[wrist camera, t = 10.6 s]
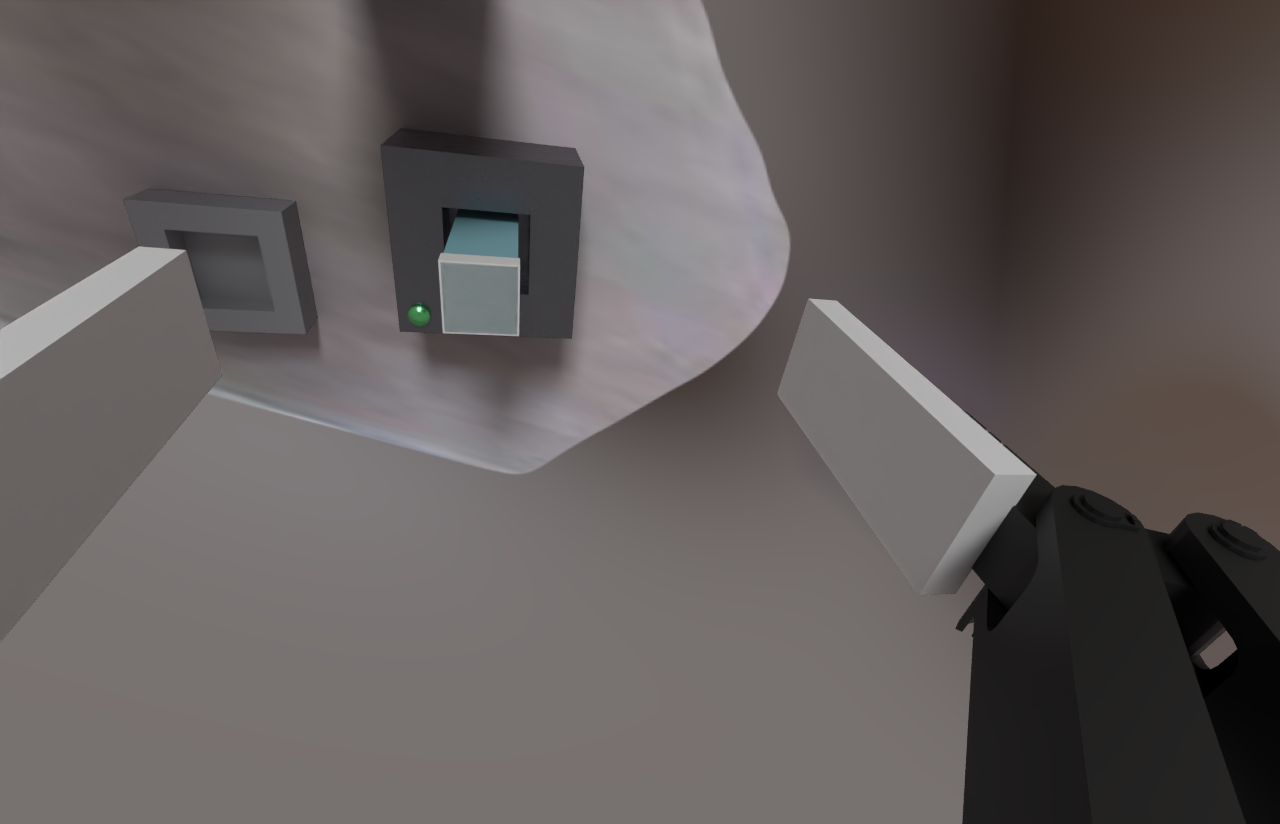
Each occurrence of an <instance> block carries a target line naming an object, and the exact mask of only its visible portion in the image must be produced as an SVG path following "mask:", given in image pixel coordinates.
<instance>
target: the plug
mask: <svg viewBox="0 0 1280 824" xmlns="http://www.w3.org/2000/svg"><path fill="white" fill-rule="evenodd" d="M438 266H439V281H440V297H441V313H442V328H443V333H451V334H477V335H502V336H519V307H520V258H518V214H514V213H503V212H491V211H480V210H468V209H458V212H457V215H456V218H455V221H454V224H453V227H452V229H451V232H450V235H449V238H448V241H447V244H446V247H445V250H444V253H441V254H440V256H439V259H438Z"/></svg>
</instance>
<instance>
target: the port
mask: <svg viewBox="0 0 1280 824" xmlns="http://www.w3.org/2000/svg"><path fill="white" fill-rule="evenodd" d="M380 146H381V156H382V165H383V175H384V184H385V194H386V203H387V213H388V222H389V232H390V241H391V251H392V260H393V269H394V279H395V288H396V298H397V307H398V317H399V326H400V332H424V333H443V328H442V313H441V297H440V281H439V266H438V259H439V256H440V254H441V253H444V250H445V247H446V244H447V241H448V238H449V235H450V232H451V229H452V227H453V224H454V221H455V218H456V215H457V212H458V209H468V210H480V211H491V212H503V213H514V214H518V258H520V307H519V336H522V337H546V338H571V339H572V329H573V315H574V301H575V287H576V274H577V260H578V246H579V232H580V218H581V204H582V190H583V176H584V166H583V164H582V161H581V159H580V157H579V155H578V153H577V151H576V149H575V148H567V147H558V146H549V145H541V144H532V143H523V142H514V141H505V140H497V139H488V138H479V137H470V136H461V135H453V134H444V133H435V132H426V131H417V130H409V129H400V130H398V131H397V132H396V133H395V134H394V135H392V136H391V137H390V138H389V139H387V140H386V141H385V142H384V143H382V144H381V145H380ZM448 334H451V333H448ZM473 335H477V334H473ZM497 336H502V335H497Z"/></svg>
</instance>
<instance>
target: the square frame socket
mask: <svg viewBox="0 0 1280 824" xmlns="http://www.w3.org/2000/svg"><path fill="white" fill-rule="evenodd" d="M123 201H124V204H125V207H126V209H127V212H128V215H129V218H130V221H131V224H132V227H133V230H134V233H135V236H136V239H137V241H138V244H139V246H140V247H153V248H166V249H178V250H186V251H187V254H188V258H189V261H190V265H191V268H192V272H193V275H194V279H195V282H196V286H197V289H198V293H199V296H200V300H201V303H202V307H203V310H204V314H205V317H206V321H207V324H208V328H209V331H228V332H254V333H280V334H307V332H308V331H309V330H310V328H311V327H312V325H313V324H314V322H315V321H316V320H317V318H318V317H317V312H316V307H315V302H314V296H313V291H312V286H311V280H310V275H309V270H308V264H307V259H306V254H305V248H304V243H303V238H302V232H301V227H300V222H299V216H298V211H297V206H296V201H289V200H277V199H265V198H253V197H241V196H229V195H217V194H206V193H194V192H182V191H170V190H158V189H146V190H144V191H142V192H139V193H137V194H135V195H132V196H130V197H127V198H125V199H123Z"/></svg>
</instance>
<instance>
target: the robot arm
mask: <svg viewBox="0 0 1280 824" xmlns="http://www.w3.org/2000/svg"><path fill="white" fill-rule="evenodd" d="M221 376H222V373H221V369H220V366H219V362H218V359H217V355H216V352H215V348H214V345H213V342H212V338H211V335H210V331H209V328H208V324H207V321H206V317H205V314H204V310H203V307H202V303H201V300H200V296H199V293H198V289H197V286H196V282H195V279H194V275H193V272H192V268H191V265H190V261H189V258H188V254H187V251H186V250H178V249H166V248H153V247H140V246H139V247H137V248H136V249H134V250H132V251H130V252H129V253H127V254H125V255H124V256H122V257H120V258H119V259H117V260H115V261H114V262H112V263H110V264H109V265H107V266H105V267H104V268H102V269H100V270H99V271H97V272H95V273H94V274H92V275H90V276H89V277H87V278H85V279H84V280H82V281H80V282H79V283H77V284H75V285H74V286H72V287H70V288H69V289H67V290H65V291H64V292H62V293H60V294H59V295H57V296H55V297H54V298H52V299H50V300H48V301H47V302H45V303H43V304H42V305H40V306H38V307H37V308H35V309H33V310H32V311H30V312H28V313H27V314H25V315H23V316H22V317H20V318H18V319H17V320H15V321H13V322H12V323H10V324H8V325H7V326H5V327H3V328H2V329H0V643H1V641H2V640H3V639H4V638H5V637H6V635H7V634H8V633H9V632H10V630H11V629H12V628H13V627H14V626H15V624H16V623H17V622H18V621H19V620H20V618H21V617H22V616H23V615H24V614H25V612H26V611H27V610H28V609H29V608H30V606H31V605H32V604H33V603H34V602H35V600H36V599H37V598H38V597H39V596H40V594H41V593H42V592H43V591H44V589H45V588H46V587H47V586H48V585H49V583H50V582H51V581H52V580H53V578H54V577H55V576H56V575H57V574H58V573H59V571H60V570H61V569H62V568H63V566H64V565H65V564H66V563H67V562H68V561H69V559H70V558H71V557H72V556H73V554H74V553H75V552H76V551H77V550H78V548H79V547H80V546H81V545H82V544H83V542H84V541H85V540H86V539H87V538H88V536H89V535H90V534H91V533H92V531H93V530H94V529H95V528H96V527H97V526H98V524H99V523H100V522H101V521H102V519H103V518H104V517H105V516H106V515H107V513H108V512H109V511H110V510H111V508H112V507H113V506H114V505H115V504H116V503H117V501H118V500H119V499H120V498H121V496H122V495H123V494H124V493H125V492H126V490H127V489H128V488H129V487H130V486H131V485H132V483H133V482H134V481H135V480H136V478H137V477H138V476H139V475H140V474H141V472H142V471H143V470H144V469H145V468H146V466H147V465H148V464H149V463H150V462H151V460H152V459H153V458H154V457H155V455H156V454H157V453H158V452H159V451H160V449H161V448H162V447H163V446H164V445H165V444H166V442H167V441H168V440H169V439H170V437H171V436H172V435H173V434H174V433H175V431H176V430H177V429H178V428H179V426H180V425H181V424H182V423H183V422H184V421H185V419H186V418H187V417H188V416H189V415H190V413H191V412H192V411H193V410H194V409H195V407H196V406H197V405H198V403H199V402H200V401H201V400H202V399H203V398H204V396H205V395H206V394H207V393H208V392H209V390H210V389H211V388H212V387H213V386H214V384H215V383H216V382H217V381H218V380H219V378H220V377H221ZM777 395H778V396H779V398H780V399H781V401H782V402H783V403H784V405H785V406H786V407H787V409H788V410H789V412H790V413H791V415H792V416H793V418H794V419H795V420H796V422H797V423H798V425H799V426H800V428H801V429H802V430H803V432H804V433H805V435H806V436H807V437H808V439H809V440H810V442H811V443H812V445H813V446H814V447H815V449H816V450H817V452H818V453H819V454H820V456H821V457H822V459H823V460H824V462H825V463H826V464H827V466H828V467H829V469H830V470H831V471H832V473H833V474H834V476H835V477H836V479H837V480H838V481H839V483H840V484H841V486H842V487H843V489H844V490H845V491H846V493H847V494H848V496H849V497H850V499H851V500H852V501H853V503H854V504H855V506H856V507H857V508H858V510H859V511H860V513H861V514H862V516H863V517H864V518H865V520H866V521H867V523H868V524H869V526H870V527H871V528H872V530H873V531H874V533H875V534H876V536H877V537H878V538H879V540H880V541H881V542H882V544H883V546H884V547H885V548H886V550H887V551H888V553H889V554H890V555H891V557H892V558H893V559H894V561H895V563H896V564H897V565H898V567H899V568H900V570H901V571H902V573H903V574H904V575H905V577H906V578H907V580H908V581H909V582H910V584H911V585H912V587H913V588H914V589H915V591H916V592H917V594H918V595H919V596H922V595H938V594H955V593H956V592H957V591H958V589H959V588H960V586H961V585H962V583H963V582H964V580H965V579H966V578H967V576H968V574H969V573H970V572H971V570H972V569H973V570H974V571H975V573H976V574H977V575H978V576H979V577H980V579H981V580H982V581H983V582H984V583H985V585H984V587H983V588H982V590H981V591H980V592H979V594H978V595H977V596H976V598H975V599H974V601H973V602H972V603H971V605H970V606H969V608H968V609H967V610H966V612H965V613H964V615H963V616H962V618H961V619H960V620H959V622H958V624H957V626H956V629H957V630H960V631H963V630H964V628H965V627H966V626H967V624H969V623H973V622H974V631H973V634H972V637H973V649H972V650H973V651H972V666H971V683H970V701H969V720H968V736H967V753H966V754H967V755H966V770H965V789H964V805H963V823H962V824H1280V551H1279V550H1278V549H1276V548H1275V547H1274V546H1273V545H1272V544H1271V543H1269V542H1267V541H1266V540H1264V539H1263V538H1261V537H1260V536H1259V535H1258V534H1257V533H1256V532H1255V531H1253V530H1252V529H1250V528H1248V527H1246V526H1242V525H1241V524H1239V523H1237V522H1235V521H1232V520H1225V519H1222V518H1220V517H1217V516H1214V515H1208V514H1203V513H1192V514H1188V515H1187V516H1186V517H1185V518H1184V519H1183V520H1182V521H1181V522H1180V523H1179V525H1178V526H1177V527H1176V528H1175V529H1174V530H1173V531H1172V532H1171V533H1170V534H1167V533H1162V532H1158V531H1153V530H1149V529H1145V528H1144V526H1143V525H1142V523H1141V522H1140V521H1139V520H1138V519H1137V517H1136V516H1135V515H1133V514H1131V513H1130V512H1129V511H1128V510H1127V509H1125V508H1124V507H1122V506H1121V505H1119V504H1117V503H1115V502H1114V501H1112V500H1111V499H1109V498H1107V497H1104V496H1102V495H1100V494H1098V493H1096V492H1093V491H1090V490H1087V489H1084V488H1080V487H1077V486H1066V485H1065V486H1064V485H1062V486H1059V487H1056V488H1055V487H1053V486H1052V485H1051V484H1050V483H1049V482H1048V481H1046V480H1045V479H1044V478H1043V477H1042V476H1041V475H1039V474H1038V473H1037V472H1036V471H1035V470H1034V469H1033V468H1031V467H1030V466H1029V465H1028V464H1027V463H1026V462H1024V461H1023V460H1022V459H1021V458H1020V457H1019V456H1017V455H1016V454H1015V453H1014V452H1013V451H1012V450H1010V449H1009V448H1008V447H1007V446H1006V445H1002V444H1001V441H1000V440H999V439H998V438H997V437H995V436H994V435H993V434H992V433H991V432H987V431H986V428H985V427H984V426H983V425H982V424H980V423H979V422H978V421H977V420H976V419H974V418H973V417H972V416H971V415H970V414H969V413H967V412H966V411H964V410H962V409H961V408H959V407H958V406H957V405H956V404H955V403H954V402H952V401H951V400H950V399H949V398H948V397H946V395H944V394H943V393H942V392H941V391H940V390H939V389H938V388H936V387H935V386H934V385H933V384H932V383H931V382H929V381H928V380H927V379H926V378H925V377H923V375H921V374H920V373H919V372H918V371H917V370H916V369H914V368H913V367H912V366H911V365H910V364H908V363H907V362H906V361H905V360H904V359H903V358H902V357H901V356H900V355H898V354H897V353H896V352H895V351H894V350H893V349H891V348H890V347H889V346H888V345H887V344H886V343H884V342H883V341H882V340H881V339H880V338H879V337H878V336H876V335H875V334H874V333H873V332H872V331H871V330H870V329H868V328H867V327H866V326H865V325H864V324H862V323H861V322H860V321H859V320H858V319H857V318H856V317H854V316H853V315H852V314H851V313H850V312H849V311H848V310H847V309H845V308H844V307H843V306H842V305H841V304H840V303H838V302H837V301H832V300H819V299H808V302H807V305H806V308H805V311H804V314H803V317H802V320H801V323H800V326H799V330H798V332H797V336H796V338H795V341H794V344H793V347H792V351H791V353H790V357H789V360H788V363H787V366H786V369H785V372H784V375H783V378H782V381H781V384H780V387H779V390H778V393H777ZM1225 631H1227V632H1228V633H1229V635H1230V636H1231V637H1232V639H1233V640H1234V643H1235V645H1236V647H1237V650H1236V651H1235V652H1234V653H1232V654H1231V655H1230V656H1229V657H1228V658H1227V659H1225V660H1224V661H1223V662H1222V663H1220V664H1219V665H1218V666H1216V667H1214V668H1212V669H1210V668H1209V667H1208V666H1207V665H1206V664H1205V663H1204V661H1203V659H1202V658H1201V656H1200V655H1199V654H1200V653H1201V652H1202V651H1203V650H1205V649H1206V648H1207V647H1208V646H1209V645H1210V644H1211V643H1213V641H1215V640H1216V639H1217V638H1218V637H1219V636H1220V635H1222V634H1223V633H1224V632H1225Z"/></svg>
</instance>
